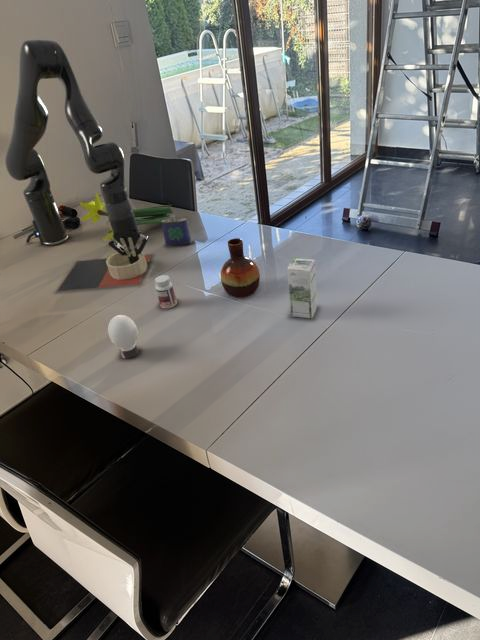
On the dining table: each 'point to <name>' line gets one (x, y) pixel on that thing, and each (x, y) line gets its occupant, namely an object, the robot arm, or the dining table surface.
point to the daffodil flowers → (156, 212)
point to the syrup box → (302, 288)
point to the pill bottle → (165, 292)
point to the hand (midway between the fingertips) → (135, 265)
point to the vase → (239, 272)
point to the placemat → (94, 276)
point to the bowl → (125, 266)
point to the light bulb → (124, 335)
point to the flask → (176, 232)
